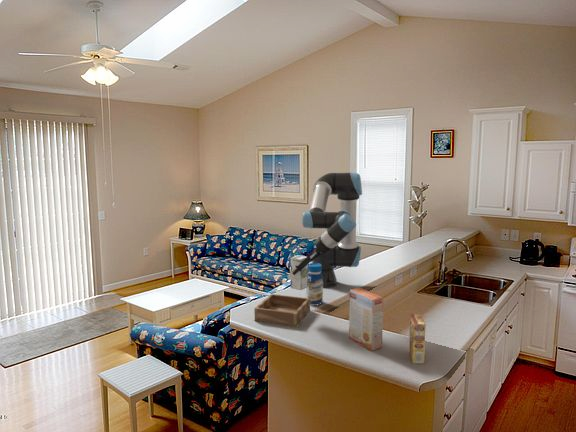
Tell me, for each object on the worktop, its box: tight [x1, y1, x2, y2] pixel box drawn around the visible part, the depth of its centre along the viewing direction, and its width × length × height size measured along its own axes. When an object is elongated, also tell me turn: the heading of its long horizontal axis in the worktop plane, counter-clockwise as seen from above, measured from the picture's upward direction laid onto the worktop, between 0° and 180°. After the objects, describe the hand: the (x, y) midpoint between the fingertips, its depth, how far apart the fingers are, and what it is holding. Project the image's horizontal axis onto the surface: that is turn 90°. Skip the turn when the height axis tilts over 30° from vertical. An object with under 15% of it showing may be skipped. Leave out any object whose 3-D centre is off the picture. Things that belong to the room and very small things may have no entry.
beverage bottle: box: [306, 262, 324, 306], centre depth 211 cm, size 8×8×20 cm
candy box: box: [408, 314, 426, 365], centre depth 156 cm, size 9×4×15 cm, turn 174°
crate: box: [254, 293, 311, 328], centre depth 197 cm, size 20×20×6 cm
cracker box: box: [348, 287, 384, 352], centre depth 168 cm, size 14×6×21 cm, turn 30°
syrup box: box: [290, 254, 309, 291], centre depth 191 cm, size 6×6×14 cm
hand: (291, 275), depth 192 cm, fingers closed on syrup box, 7 cm apart
